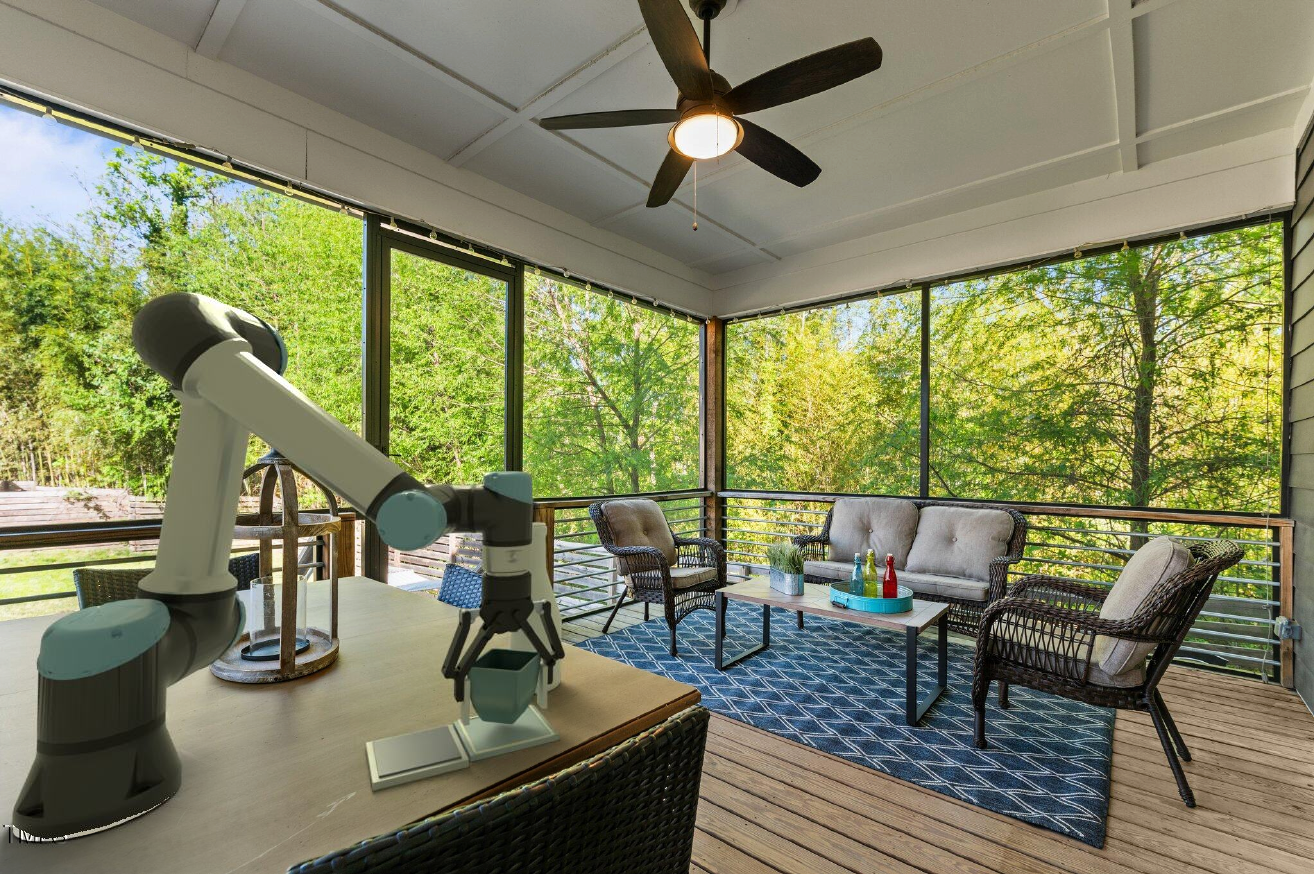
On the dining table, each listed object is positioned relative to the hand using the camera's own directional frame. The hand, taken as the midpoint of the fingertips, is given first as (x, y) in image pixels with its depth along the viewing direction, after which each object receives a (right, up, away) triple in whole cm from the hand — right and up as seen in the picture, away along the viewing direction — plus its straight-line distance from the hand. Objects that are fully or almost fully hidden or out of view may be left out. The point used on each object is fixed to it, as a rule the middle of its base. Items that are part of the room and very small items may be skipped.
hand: (504, 713), depth 92 cm
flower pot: (0, -1, 0) cm, 1 cm away
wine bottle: (+1, -4, +19) cm, 19 cm away
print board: (0, -3, 0) cm, 3 cm away
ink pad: (-11, -3, -8) cm, 13 cm away
